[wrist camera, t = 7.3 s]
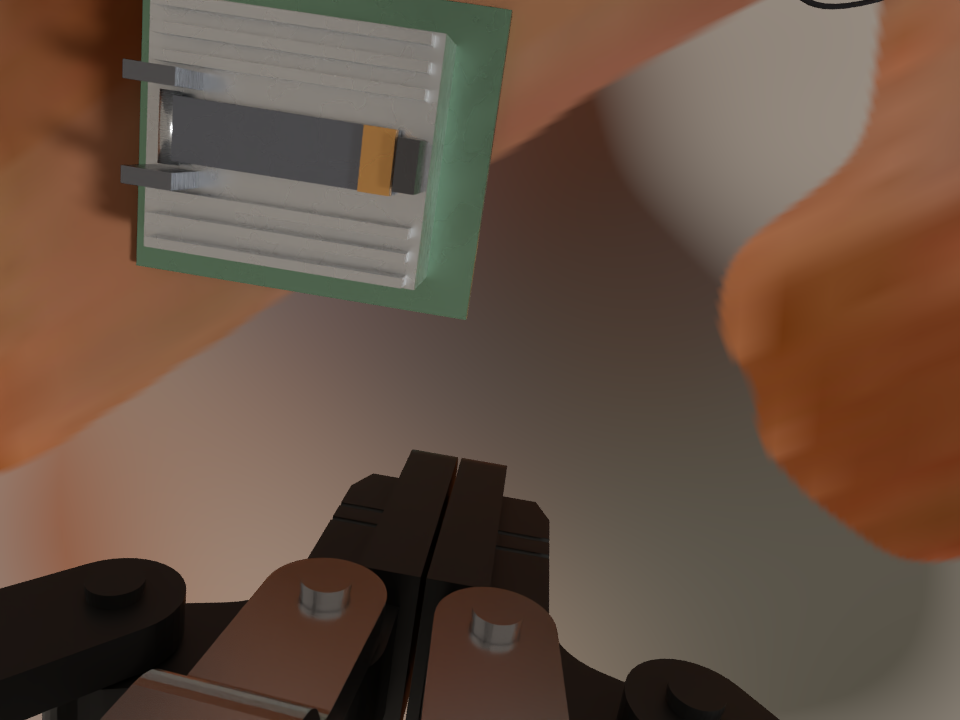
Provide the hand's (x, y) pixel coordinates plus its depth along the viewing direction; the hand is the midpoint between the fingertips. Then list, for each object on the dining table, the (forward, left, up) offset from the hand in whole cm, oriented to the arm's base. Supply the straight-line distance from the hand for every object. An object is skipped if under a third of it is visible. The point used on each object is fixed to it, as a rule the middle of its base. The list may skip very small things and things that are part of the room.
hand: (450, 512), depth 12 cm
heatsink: (-4, -12, -31) cm, 33 cm away
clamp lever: (-4, -12, -26) cm, 29 cm away
